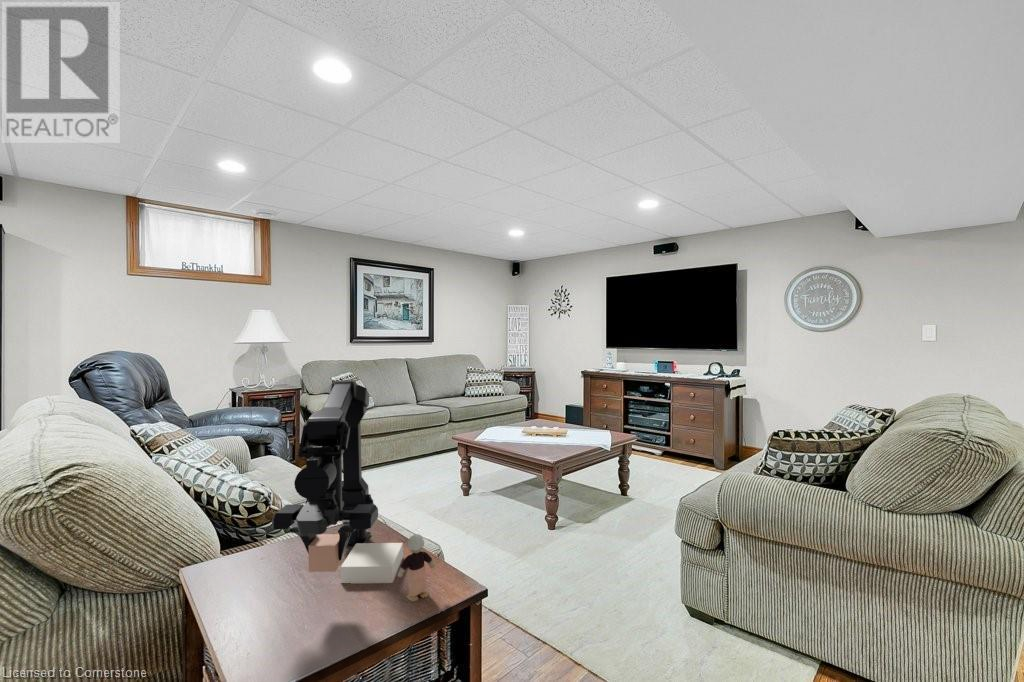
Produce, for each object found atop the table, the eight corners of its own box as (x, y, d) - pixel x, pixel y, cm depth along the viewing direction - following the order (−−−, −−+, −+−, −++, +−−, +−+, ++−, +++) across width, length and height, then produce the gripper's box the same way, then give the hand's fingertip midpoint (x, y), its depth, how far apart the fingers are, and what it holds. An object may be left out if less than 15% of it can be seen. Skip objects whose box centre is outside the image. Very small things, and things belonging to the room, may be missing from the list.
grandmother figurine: (426, 585, 100) (426, 526, 99) (437, 593, 97) (436, 532, 97) (394, 600, 94) (393, 538, 94) (404, 608, 92) (404, 544, 91)
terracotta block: (319, 558, 94) (319, 534, 94) (344, 558, 94) (344, 534, 94) (308, 571, 89) (308, 545, 89) (335, 571, 89) (334, 545, 89)
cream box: (356, 559, 112) (356, 543, 112) (402, 559, 112) (402, 542, 112) (340, 585, 101) (340, 566, 101) (392, 584, 101) (392, 566, 101)
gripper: (255, 495, 83) (257, 582, 84) (361, 495, 83) (362, 581, 84) (285, 475, 94) (286, 552, 95) (378, 475, 95) (379, 551, 95)
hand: (327, 559), depth 92 cm, fingers closed on terracotta block, 5 cm apart
